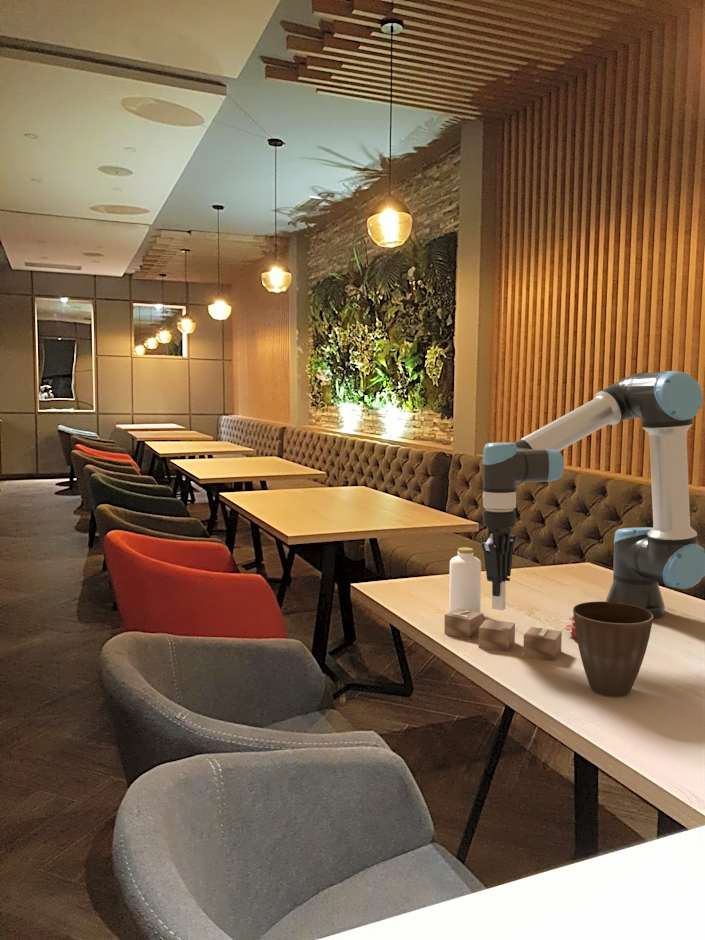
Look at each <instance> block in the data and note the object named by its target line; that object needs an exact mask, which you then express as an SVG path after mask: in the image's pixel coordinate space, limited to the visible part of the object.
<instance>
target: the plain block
mask: <svg viewBox="0 0 705 940" xmlns="http://www.w3.org/2000/svg"><path fill="white" fill-rule="evenodd" d="M515 637H516V622H511V621H503V620H494V619H485V620H483V623H482V624H481V626H480V627H479V634H478V648H479V649H486V650H494V651H501V652H510V650H511V648H512V647H513V646H514V644H515V639H516V638H515Z"/></svg>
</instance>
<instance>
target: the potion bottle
mask: <svg viewBox="0 0 705 940" xmlns="http://www.w3.org/2000/svg"><path fill="white" fill-rule="evenodd" d="M456 553H457V555H456V556H453V557H452V558H451V559H450V560H449V579H448V580H449V584H448V585H449V587H448V588H449V589H448V591H449V593H448V595H449V596H448V597H449V599H448V601H449V602H448V603H449V604H448V605H449V606H448V611H449V612H452V611H454V610H456V609H458V608H459V609H465V610H470V611H475V612H480V613H481V602H482V601H481V598H482V597H481V595H482V592H481V591H482V589H481V587H482V585H481V584H482V562H481V560H480V559H479V558H478V557H476V556H474V548H473V547H472V548H471V547H466V546H465V547H457V552H456ZM449 612H448V613H449Z"/></svg>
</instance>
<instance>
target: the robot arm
mask: <svg viewBox="0 0 705 940" xmlns="http://www.w3.org/2000/svg"><path fill="white" fill-rule="evenodd" d="M703 398H704V397H703V391H702V389H701V385H700V384H699V382H698V381H697V380H696V379H695V378H694V377H693V376H692V375H691V374H689V373H687V372H683V371H675V370H667V371H658V372H657V371H656V372H655V371H653V372H638V373H635V374H632V375H629V376H626V377H624V378H622V379H620V380H618V381H616V382H614V383H613V384H611V385H608V386H606V387H605V388H603V389H602V390H600V391H597V393H596V394H595V395H594V397H593V399H592V400H590V401H588V402H586V403H584V404H583V405H581V406H579V407H577V408H574V409H573V410H571V411H570V412H568V413H565V414H564V415H562V416H560V417H559V418H557V419H555V420H553V421H551V422H549V423H547V424H545V425H544V426H542V427H540V428H539V429H536V430H535V431H533V432H531V433H530V434H528V435H525V436H524V437H522V438H520V439H517V440H516V441H514V442H488V443H486V444H485V445H484V447H483V452H482V453H483V454H482V463H481V464H482V491H483V492H482V495H481V497H482V507H483V508H484V509H483V511H482V525H483V526H484V527H485V528H486V527H487V536H486V537H487V540H486V541H485V542H484V541H483V542H481V547H482V552H483V556H484V557H483V558H484V564H485V565H484V567H485V575H486V580H487V582H491V609H493V610H498V611H504V610H506V588H507V587H506V583H507V582H510V580H511V578H510V576H511V575H512V574H511V572H512V566H513V565H512V564H513V563H512V562H513V555H514V554H513V553H514V547H515V542H516V539H517V537H516V535H515V534H514V535H513V534H512V533H511V528H513V527H515V526H516V524H517V523H516V522H517V519H516V517H517V516H516V515H517V514H516V513H517V512H516V511H515V509H516V507H517V484H521V483H542V482H545V483H548V482H553V481H558V480H559V479H561V478H562V476H563V474H564V472H565V471H564V470H565V460H564V457H563V455H562V453H561V451H562V450H564V449H566V448H568V447H569V446H572V445H573V444H575V443H576V442H579V441H580V440H582V439H585V438H587V436H589V435H592V434H593V433H596V432H597V431H599V430H600V429H602V428H604V427H606V426H608V425H610V426H615V425H617V424H619V423H622V422H623V421H626V420H632V419H641V428H642V430H644V431H645V432H646V433H647V434H648V443H649V460H650V461H649V463H650V464H649V465H650V480H651V482H650V484H651V486H650V487H651V501H652V502H651V505H652V523H653V524H652V527H649V526H648V527H644V526H643V527H641V526H640V527H624V528H623V527H622V528H619V529H617V530H616V531H615V533H614V539H613V567H612V568H613V573H612V574H613V578H612V583H611V586H610V587H609V590H608V594H607V596H606V599H605V602H617V603H624V604H630V605H634V606H638V607H641V608H644V609H646V610H648V611H650V612H651V613H652V614H653V619H657V618H660V617H663V616H665V610H666V609H665V608H666V605H665V603H664V599H663V596H662V595H663V594H662V593H661V589H660V586H659V583H660V584H664V585H666V586H668V587H671V588H677V589H684V590H685V589H690V588H693V587H695V586H696V585H697V584H699V583H700V582H701V580H702V579H703V578H705V548H704V547H702V546H701V545H700V544H699V543H698V532H697V531H696V530H695V529H694V528H693V527H692V526H691V516H690V515H691V513H690V511H691V510H690V488H689V487H690V486H689V468H688V467H689V466H688V465H689V463H688V462H689V461H688V443H687V442H688V441H687V432H688V430H689V429H690V428H691V427H693V423H694V421H693V418H694V417H695V416H697V414H698V413H699V411H700V409H701V408H702V406H703V401H704V400H703Z"/></svg>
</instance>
